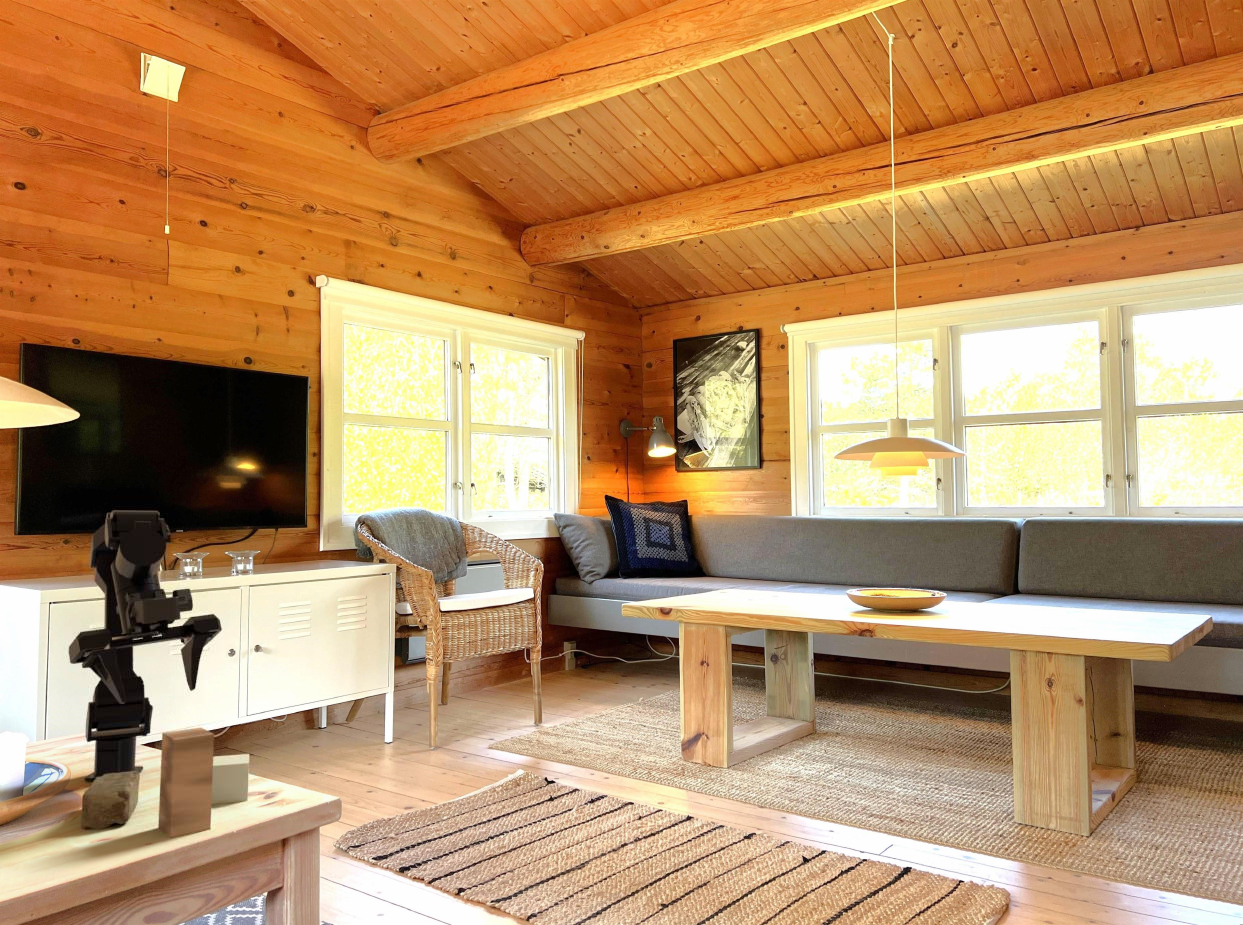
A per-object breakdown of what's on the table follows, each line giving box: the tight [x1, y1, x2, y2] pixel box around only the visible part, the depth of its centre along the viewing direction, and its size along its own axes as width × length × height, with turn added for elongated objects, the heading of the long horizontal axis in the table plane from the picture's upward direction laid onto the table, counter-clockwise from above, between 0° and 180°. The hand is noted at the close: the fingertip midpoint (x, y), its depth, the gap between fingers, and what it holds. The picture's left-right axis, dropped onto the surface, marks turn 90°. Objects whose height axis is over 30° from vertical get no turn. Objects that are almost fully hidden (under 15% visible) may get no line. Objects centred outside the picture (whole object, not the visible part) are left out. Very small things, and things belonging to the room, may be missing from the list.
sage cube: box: [211, 753, 250, 805], centre depth 138 cm, size 6×6×6 cm
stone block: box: [80, 771, 141, 830], centre depth 129 cm, size 6×12×5 cm, turn 20°
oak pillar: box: [158, 727, 215, 838], centre depth 125 cm, size 5×5×12 cm
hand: (158, 696), depth 129 cm, fingers open, 9 cm apart
